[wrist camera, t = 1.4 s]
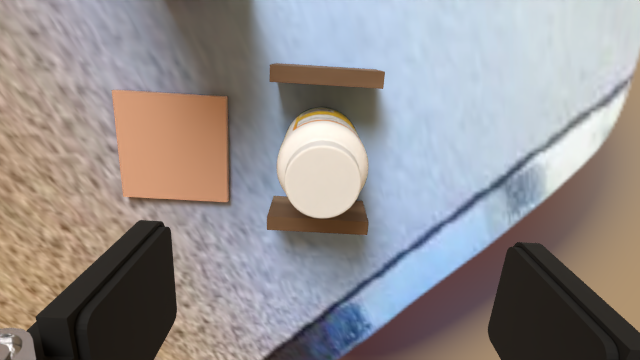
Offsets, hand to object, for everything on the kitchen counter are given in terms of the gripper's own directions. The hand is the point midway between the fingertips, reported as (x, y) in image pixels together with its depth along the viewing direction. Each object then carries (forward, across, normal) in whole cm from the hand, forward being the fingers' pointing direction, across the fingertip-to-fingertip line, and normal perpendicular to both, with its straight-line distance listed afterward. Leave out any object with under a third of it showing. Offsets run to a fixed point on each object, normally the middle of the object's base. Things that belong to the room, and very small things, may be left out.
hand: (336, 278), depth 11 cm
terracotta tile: (+19, +12, +2) cm, 22 cm away
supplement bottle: (+19, 0, +1) cm, 19 cm away
